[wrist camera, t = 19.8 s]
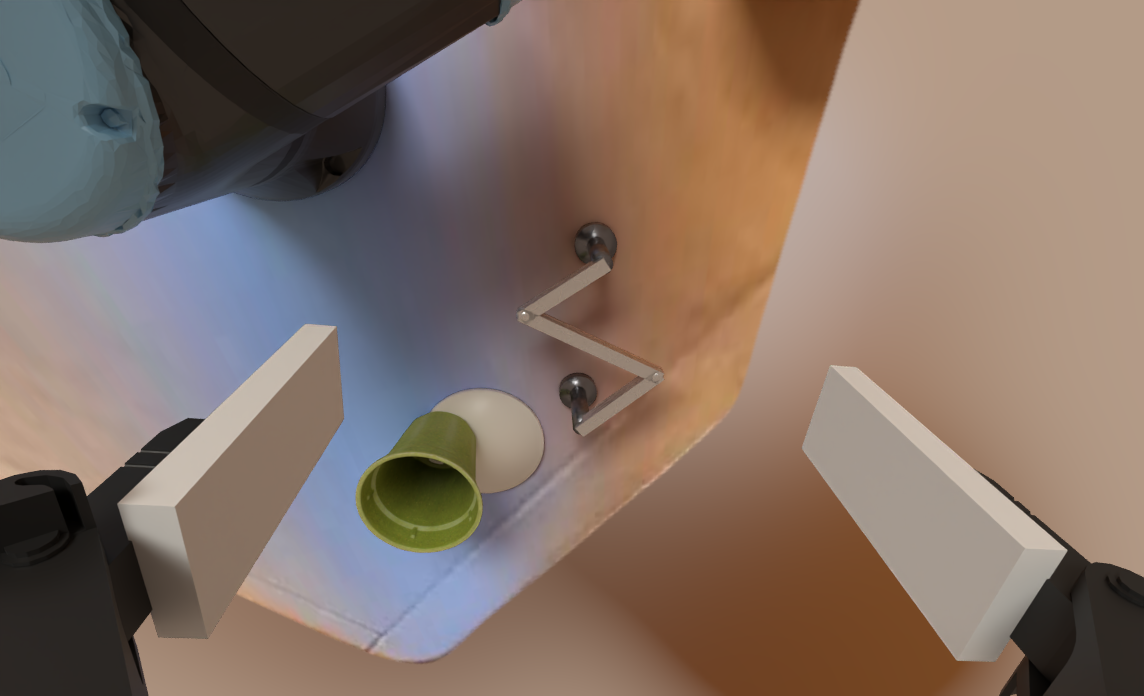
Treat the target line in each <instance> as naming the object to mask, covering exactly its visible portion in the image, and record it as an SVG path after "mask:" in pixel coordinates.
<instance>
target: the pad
mask: <svg viewBox="0 0 1144 696" xmlns="http://www.w3.org/2000/svg"><path fill="white" fill-rule="evenodd" d="M435 411H442V412H448V413H452V414H455V415H457V416H459V417H461V418H462V419H463V420H465V421H466V422H467V424H468V425H469V427H470V428H471V430H472V431H473V433H474V434H475V437H476V483H477V485H478V487H479V490H480V493H496V492H501V491H505V490H508V489H511V488H513V487H515V486H517V485H519V484H520V483H522V482H524V481H525V480H526V479H527V478H529V477H530V475H531V474H532V473H533V472H534V471H535V470H536V468H537V467H538V465H539V463H540V461H541V458H542V455H543V450H544V435H543V430H542V426H541V424H540V422H539V419H538V418H537V416H536V415H535V413H534V412H533V411H532V410H531V408H530V407H529V406H527V405H526V404H525V403H524V402H523V401H521V400H520V399H518V398H517V397H515V396H513V395H511V394H508V393H506V392H503V391H499V390H495V389H488V388H473V389H467V390H462V391H459V392H456V393H453V394H451V395H449V396H447V397H446V398H444V399H443V400H441V401H440V402H439V403H438V404H437V405H435V406H434V408H433V409H432V410H431V411H430V412H435ZM429 461H430V462H433V463H437V464H443V462H439V461H435V460H433V459H429Z"/></svg>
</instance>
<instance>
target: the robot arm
mask: <svg viewBox="0 0 1144 696" xmlns="http://www.w3.org/2000/svg"><path fill="white" fill-rule="evenodd" d="M520 1H522V0H0V239H5V240H10V241H18V242H30V243H51V242H61V241H68V240H73V239H77V238H82V237H87V236H98V237H107V236H110V235H112V234H120V233H123V232H126V231H128V230H130V229H132V228H134V227H136V226H137V225H138V224H139V223H140V222H142V221H144V220H147V219H151V218H154V217H157V216H160V215H163V214H166V213H170V212H173V211H176V210H179V209H182V208H185V207H188V206H192V205H195V204H198V203H201V202H204V201H207V200H211V199H214V198H217V197H220V196H223V195H226V194H230V193H233V192H234V193H237V194H241V195H244V196H248V197H251V198H256V199H261V200H269V201H292V200H300V199H305V198H309V197H313V196H316V195H319V194H321V193H324V192H326V191H328V190H330V189H333V188H335V187H337V186H339V185H340V184H342V183H344V182H345V181H347V180H348V179H350V178H351V177H352V176H353V175H354V174H355V173H356V172H358V171H359V170H360V168H361V167H362V166H363V165H364V164H365V163H366V161H367V160H368V158H369V157H370V155H371V154H372V152H373V150H374V148H375V146H376V144H377V142H378V139H379V136H380V133H381V130H382V126H383V122H384V116H385V106H386V91H385V85H386V84H388V83H389V82H391V81H393V80H394V79H396V78H398V77H399V76H401V75H402V74H404V73H406V72H407V71H409V70H410V69H412V68H414V67H415V66H417V65H419V64H420V63H422V62H423V61H425V60H427V59H428V58H430V57H432V56H433V55H435V54H436V53H438V52H440V51H441V50H443V49H444V48H446V47H448V46H449V45H451V44H453V43H454V42H456V41H457V40H459V39H461V38H462V37H464V36H465V35H467V34H469V33H470V32H472V31H474V30H475V29H477V28H478V27H480V26H482V25H483V24H486V25H488V26H493V25H496V24H498V23H499V22H501V21H502V20H503V18H504V17H505V16H506V15H507V14H508V13H509V11H510V9H511V7H513V6H514V5H516V4H517V3H519V2H520ZM343 420H344V413H343V400H342V387H341V375H340V362H339V349H338V337H337V326H326V325H314V324H305V325H304V326H303V327H301V328H300V329H299V330H298V331H297V332H296V333H295V334H294V335H293V336H292V337H291V338H290V339H289V340H288V341H287V342H286V343H285V344H284V345H283V346H282V347H281V348H280V349H278V350H277V351H276V352H275V353H274V354H273V355H272V356H271V357H270V358H269V359H268V360H267V361H266V362H265V363H264V364H263V365H262V366H261V367H260V368H259V369H258V370H257V371H255V372H254V373H253V374H252V375H251V376H250V377H249V378H248V379H247V380H246V381H245V382H244V383H243V384H242V385H241V386H240V387H239V388H238V389H237V390H236V391H235V392H234V393H232V394H231V395H230V396H229V397H228V398H227V399H226V400H225V401H224V402H223V403H222V404H221V405H220V406H219V407H218V408H217V409H216V410H215V411H214V412H213V413H212V414H211V415H209V416H208V417H207V418H206V419H193V418H187V419H185V420H183V421H181V422H179V423H177V424H175V425H173V426H171V427H169V428H167V429H165V430H163V431H161V432H160V433H159V434H158V435H156V436H155V437H154V438H153V439H152V440H151V441H150V442H148V443H147V444H146V445H145V446H144V447H143V448H142V449H141V452H140V453H139V452H137V453H136V454H135V455H134V456H133V457H131V458H130V459H129V460H128V461H127V462H126V463H125V466H124V467H120V468H119V469H118V470H117V471H115V472H114V473H113V474H112V475H111V476H110V477H109V478H107V479H106V480H105V481H104V482H103V483H102V484H101V485H99V486H98V487H97V488H96V489H95V490H94V491H93V492H91V493H90V494H89V495H88V496H86V493H85V490H84V487H83V484H82V482H81V481H80V479H79V478H78V477H77V476H76V474H73V473H69V472H66V471H62V470H39V471H34V472H28V473H23V474H18V475H14V476H11V477H8V478H5V479H2V480H0V696H148V691H147V687H146V684H145V679H144V675H143V671H142V666H141V661H140V657H139V653H138V649H137V645H136V643H135V639H134V636H133V635H134V633H135V632H136V631H137V629H138V628H139V627H140V625H141V624H142V623H143V621H144V620H145V619H146V617H147V616H148V615H149V614H150V612H151V615H152V618H153V622H154V625H155V628H156V632H157V635H158V637H164V638H167V637H168V638H198V639H208V638H209V636H210V635H211V633H212V632H213V630H214V628H215V627H216V625H217V624H218V622H219V620H220V619H221V617H222V615H223V614H224V612H225V610H226V609H227V607H228V606H229V604H230V602H231V601H232V599H233V598H234V596H235V594H236V593H237V591H238V590H239V588H240V586H241V585H242V583H243V581H244V580H245V578H246V577H247V575H248V573H249V572H250V570H251V569H252V567H253V565H254V564H255V562H256V560H257V559H258V557H259V556H260V554H261V552H262V551H263V549H264V547H265V546H266V544H267V543H268V541H269V539H270V538H271V536H272V535H273V533H274V531H275V530H276V528H277V526H278V525H279V523H280V522H281V520H282V518H283V517H284V515H285V514H286V512H287V510H288V509H289V507H290V505H291V504H292V502H293V501H294V499H295V497H296V496H297V494H298V492H299V491H300V489H301V488H302V486H303V484H304V483H305V481H306V480H307V478H308V476H309V475H310V473H311V471H312V470H313V468H314V467H315V465H316V463H317V462H318V460H319V459H320V457H321V455H322V454H323V452H324V450H325V449H326V447H327V446H328V444H329V442H330V441H331V439H332V437H333V436H334V434H335V433H336V431H337V429H338V428H339V426H340V425H341V423H342V421H343ZM802 449H803V451H804V452H805V454H806V455H807V456H808V458H809V459H810V460H811V462H812V463H813V464H814V466H815V467H816V468H817V470H818V471H819V473H820V474H821V475H822V477H823V478H824V479H825V481H826V482H827V484H828V485H829V486H830V488H831V489H832V490H833V492H834V493H835V494H836V496H837V497H838V499H839V500H840V501H841V503H842V504H843V505H844V507H845V508H846V510H847V511H848V512H849V514H850V515H851V516H852V518H853V519H854V520H855V522H856V523H857V525H858V526H859V527H860V529H861V530H862V531H863V533H864V534H865V536H866V537H867V538H868V540H869V541H870V542H871V544H872V545H873V546H874V548H875V549H876V551H877V552H878V553H879V555H880V556H881V557H882V559H883V560H884V562H885V563H886V564H887V566H888V567H889V568H890V570H891V571H892V572H893V574H894V575H895V577H896V578H897V579H898V581H899V582H900V583H901V585H902V586H903V587H904V589H905V590H906V591H907V593H908V594H909V596H910V597H911V598H912V600H913V601H914V603H915V604H916V605H917V606H918V608H919V609H920V611H921V612H922V613H923V615H924V616H925V617H926V619H927V620H928V622H929V623H930V624H931V626H932V627H933V628H934V630H935V631H936V632H937V634H938V635H939V636H940V638H941V639H942V641H943V642H944V644H945V645H946V646H947V648H948V649H949V650H950V652H951V653H952V654H953V656H954V657H955V659H956V660H957V661H958V660H959V661H992V662H995V661H996V660H997V658H998V657H999V655H1000V654H1001V652H1002V651H1003V649H1004V648H1005V646H1006V644H1007V643H1008V641H1009V640H1010V638H1011V639H1012V640H1013V641H1014V642H1015V643H1016V645H1017V646H1018V647H1019V648H1020V649H1021V650H1022V651H1023V653H1024V654H1025V657H1024V658H1023V660H1022V661H1021V662H1020V664H1019V665H1018V667H1017V668H1016V670H1015V671H1014V673H1013V674H1012V676H1011V677H1010V679H1009V680H1008V681H1007V683H1006V684H1005V686H1004V687H1003V689H1002V690H1001V693H1000V695H999V696H1010V695H1013V694H1017V696H1144V577H1142V576H1140V575H1138V574H1135V573H1134V572H1132V571H1130V570H1127V569H1124V568H1121V567H1118V566H1115V565H1112V564H1106V563H1098V562H1095V563H1092V564H1091V563H1090V562H1089V561H1087V560H1086V559H1085V558H1084V557H1083V556H1082V555H1080V554H1079V553H1078V552H1077V551H1076V550H1075V549H1073V548H1072V547H1071V546H1070V545H1069V544H1068V543H1066V542H1065V541H1064V540H1063V539H1061V537H1059V536H1058V535H1057V534H1056V533H1055V532H1054V531H1052V530H1051V529H1050V528H1049V527H1048V526H1047V525H1045V524H1044V523H1043V522H1042V521H1040V520H1039V519H1038V518H1037V517H1036V516H1034V515H1031V514H1030V511H1029V510H1028V509H1026V508H1025V507H1024V506H1023V505H1022V504H1021V503H1020V502H1018V501H1014V497H1012V496H1011V495H1010V494H1009V493H1008V492H1007V491H1006V490H1004V489H1003V488H1002V487H1001V486H1000V485H998V484H997V483H996V482H995V481H994V480H992V479H990V478H989V477H987V476H985V475H984V474H982V473H980V472H978V471H977V470H975V469H973V468H972V467H971V466H970V465H969V464H967V463H966V462H965V461H964V460H963V459H962V458H961V457H959V456H958V455H957V454H956V453H955V452H954V451H952V450H951V449H950V448H949V447H948V446H947V445H946V444H944V443H943V442H942V441H941V440H940V439H939V438H937V437H936V436H935V435H934V434H933V433H932V432H930V431H929V430H928V429H927V428H926V427H925V426H924V425H922V424H921V423H920V422H919V421H918V420H917V419H915V418H914V417H913V416H912V415H911V414H910V413H909V412H908V411H906V410H905V409H904V408H903V407H902V406H900V405H899V404H898V403H897V402H896V401H895V400H893V399H892V398H891V397H890V396H889V395H888V394H887V393H886V392H884V391H883V390H882V389H881V388H880V387H879V386H878V385H876V384H875V383H874V382H873V381H872V380H871V379H869V378H868V377H867V376H866V375H865V374H864V373H863V372H861V371H860V370H859V369H858V368H857V367H846V366H833V365H830V367H829V370H828V373H827V376H826V379H825V382H824V385H823V388H822V391H821V394H820V396H819V399H818V402H817V405H816V408H815V411H814V414H813V417H812V420H811V423H810V426H809V429H808V432H807V434H806V437H805V440H804V443H803V446H802Z"/></svg>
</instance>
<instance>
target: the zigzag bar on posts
mask: <svg viewBox="0 0 1144 696" xmlns="http://www.w3.org/2000/svg"><path fill="white" fill-rule="evenodd" d="M616 248H617V241H616V237H615V235H614V233H613V231H612V230H611V229H610V228H609V227H608V226H607V225H605V224H603V223H599V222H592V223H588V224H586V225H584V226H583V227H582V228H581V229H580V230H579V231H578V233H577V234H576V237H575V250H576V253H577V255H578V257H579V258H580V259H581V260H582V261H583V262H584V263H586V265H584V266H583V267H581V268H580V269H578V270H577V271H575V272H573V273H572V274H570V275H569V276H567V277H566V278H564V279H563V280H561V281H559V282H558V283H556V284H555V285H553V286H552V287H550V288H549V289H547V290H545V291H544V292H542V293H541V294H539V295H538V296H536V297H534V298H533V299H531V300H530V301H528V302H527V303H525V304H524V305H522V306H520V307H519V308H518V309H517V312H516V316H517V319H518V320H517V321H519V322H521V323H523V324H525V325H527V326H530V327H532V328H534V329H536V330H538V331H541V332H543V333H545V334H547V335H549V336H552V337H554V338H556V339H558V340H560V341H563V342H565V343H567V344H569V345H571V346H574V347H576V348H578V349H580V350H582V351H585V352H587V353H589V354H591V355H593V356H596V357H598V358H600V359H602V360H605V361H607V362H609V363H611V364H613V365H616V366H618V367H620V368H622V369H624V370H627V371H629V372H631V373H633V374H635V375H638V376H637V377H636V378H634V379H633V380H632V381H630V382H629V383H627V384H626V385H625V386H623V387H622V388H621V389H619V390H618V391H616V392H615V393H614V394H612V395H611V396H609V397H608V398H607V399H605V400H604V401H602V402H601V403H600V404H598V405H597V406H596V407H594V408H593V409H591V410H590V411H589V408H588V406H590V405H591V404H592V403H593V402H594V401H595V399H596V395H597V391H596V385H595V382H594V381H593V379H592V378H591V377H590V376H588V375H586V374H583V373H573V374H570V375H568V376H567V377H565V378H564V379H563V380H562V382H561V384H560V388H559V392H560V399H561V401H562V402H563V404H564V405H565V406H567V407H569V408H571V410H572V421H573V430H574V431H575V432H576V433H577V434H580V435H582V436H583V437H584V436H585V435H587V434H588V433H590V432H591V431H593V430H594V429H595V428H597V427H598V426H600V425H601V424H602V423H604V422H605V421H607V420H608V419H610V418H611V417H612V416H614V415H615V414H617V413H618V412H619V411H621V410H622V409H624V408H625V407H626V406H628V405H629V404H631V403H632V402H634V401H635V400H636V399H638V398H639V397H641V396H642V395H643V394H645V393H646V392H648V391H649V390H650V389H652V388H653V387H655V386H656V385H658V384H659V383H660V382H662V381H663V380H665V379H664V371H663V369H662V367H659V366H657V365H655V364H653V363H651V362H649V361H646V360H644V359H642V358H640V357H638V356H636V355H634V354H631V353H629V352H627V351H625V350H623V349H621V348H618V347H616V346H614V345H612V344H610V343H608V342H605V341H603V340H601V339H599V338H597V337H595V336H593V335H590V334H588V333H586V332H584V331H582V330H580V329H577V328H575V327H573V326H571V325H569V324H567V323H565V322H562V321H560V320H558V319H556V318H554V317H552V316H549V315H547V314H545V312H546V311H548V310H549V309H551V308H552V307H554V306H556V305H557V304H559V303H560V302H562V301H564V300H565V299H567V298H568V297H570V296H571V295H573V294H575V293H576V292H578V291H579V290H581V289H583V288H584V287H586V286H587V285H589V284H590V283H592V282H594V281H595V280H597V279H598V278H600V277H602V276H603V275H605V274H607V273H609V272H610V271H611V270H612V268H613V261H612V259H611V258H612V257H613V256H614V254H615V252H616Z"/></svg>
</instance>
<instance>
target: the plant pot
mask: <svg viewBox="0 0 1144 696" xmlns="http://www.w3.org/2000/svg"><path fill="white" fill-rule="evenodd" d="M429 459H433V460H435V461H439V462H443V464H437V463H433V462H430V461H429ZM356 506H357V509H358V513H359V515H360V517H361V519H362V521H363V522H364V524H365V525H366V527H367V528H368V529H369V530H370V531H371V532H372V533H373V534H374V535H375V536H377V537H378V538H379V539H381V540H382V541H384V542H386V543H388V544H390V545H392V546H394V547H396V548H399V549H402V550H406V551H411V552H418V553H430V552H438V551H442V550H446V549H450V548H452V547H455V546H457V545H459V544H460V543H462V542H463V541H465V540H466V539H468V538H469V537H470V536H471V535H472V534H473V532H474V531H475V530H476V528H477V527H478V525H479V523H480V520H481V516H482V511H483V502H482V496H481V493H480V490H479V487H478V485H477V483H476V437H475V434H474V433H473V431H472V430H471V428H470V427H469V425H468V424H467V422H466V421H465V420H463V419H462V418H461V417H459V416H457V415H455V414H452V413H448V412H442V411H435V412H430V413H428V414H425V415H423V416H421V417H419V418H417V419H415V420H414V421H413V422H412V424H411V425H410V426H409V427H408V429H407V430H406V431H405V433H404V434H403V435H402V437H401V438H400V440H399V441H398V442H397V443H396V445H395V446H394V447H393V449H392V450H391V451H390V453H389V454H387V455H386V456H385V457H382V458H381V459H379V460H377V461H376V462H374V463H373V464H372V465H371V466H370V467H369V468H368V469H367V470H366V471H365V472H364V474H363V475H362V477H361V478H360V480H359V483H358V485H357V489H356Z"/></svg>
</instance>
